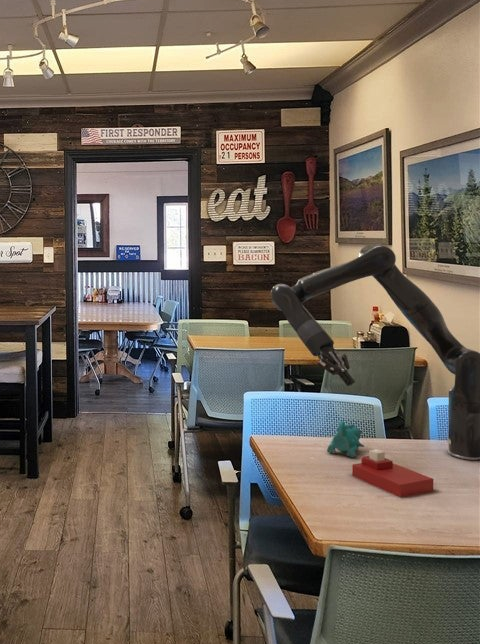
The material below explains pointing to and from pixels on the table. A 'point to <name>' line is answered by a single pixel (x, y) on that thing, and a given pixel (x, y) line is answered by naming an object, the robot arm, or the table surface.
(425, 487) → the red push button box
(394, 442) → the table surface
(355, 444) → the toy
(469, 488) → the table surface
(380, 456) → the white cube
